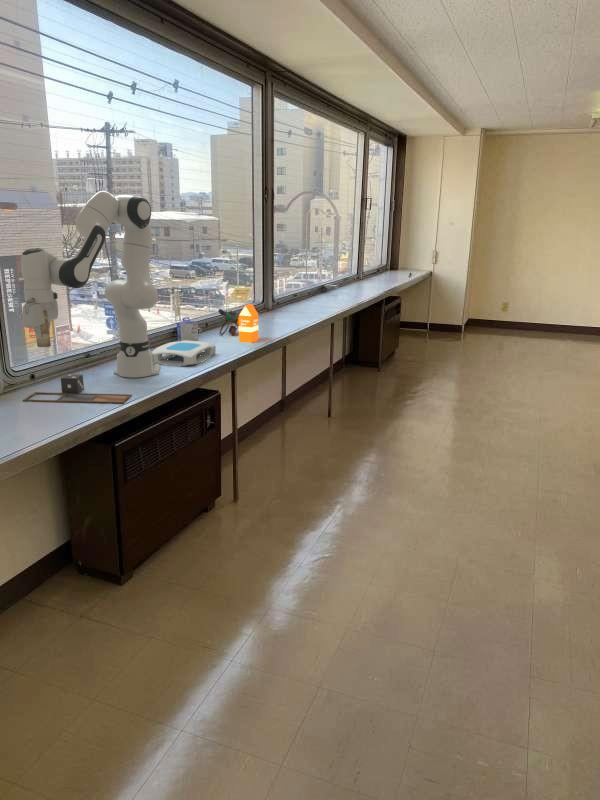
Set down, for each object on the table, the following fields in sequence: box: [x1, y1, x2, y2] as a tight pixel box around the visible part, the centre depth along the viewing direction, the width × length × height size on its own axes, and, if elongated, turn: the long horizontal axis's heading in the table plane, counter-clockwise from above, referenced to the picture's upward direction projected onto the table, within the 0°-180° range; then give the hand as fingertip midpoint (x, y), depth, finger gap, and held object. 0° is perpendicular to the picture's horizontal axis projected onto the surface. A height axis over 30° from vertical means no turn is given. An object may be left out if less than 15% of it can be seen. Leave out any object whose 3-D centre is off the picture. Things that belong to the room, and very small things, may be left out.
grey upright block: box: [176, 316, 199, 342], centre depth 307 cm, size 10×6×14 cm, turn 124°
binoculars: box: [217, 308, 239, 337], centre depth 337 cm, size 14×14×15 cm
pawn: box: [35, 310, 52, 348], centre depth 209 cm, size 5×5×14 cm
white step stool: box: [151, 340, 216, 367], centre depth 279 cm, size 21×28×6 cm
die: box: [60, 373, 85, 393], centre depth 224 cm, size 6×6×6 cm
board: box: [22, 391, 133, 405], centre depth 217 cm, size 10×36×1 cm, turn 89°
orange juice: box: [238, 303, 259, 344], centre depth 320 cm, size 8×9×20 cm
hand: (43, 336), depth 210 cm, fingers closed on pawn, 4 cm apart
